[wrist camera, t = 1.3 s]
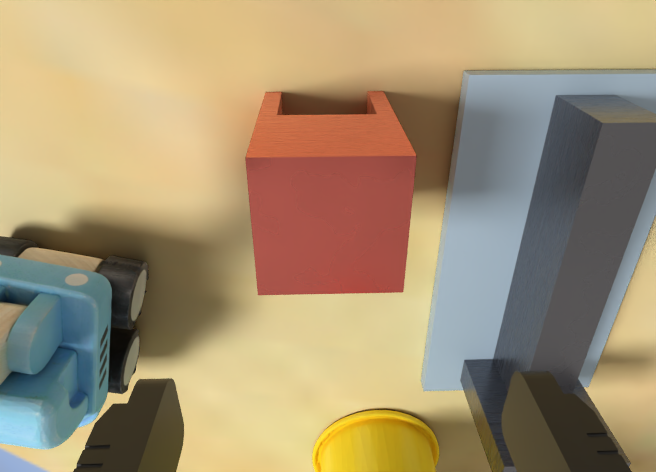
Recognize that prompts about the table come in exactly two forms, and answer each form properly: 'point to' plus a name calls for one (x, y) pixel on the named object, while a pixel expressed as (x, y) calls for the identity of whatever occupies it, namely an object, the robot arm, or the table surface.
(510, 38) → the table surface
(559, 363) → the coupler rail
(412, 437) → the stacking cups
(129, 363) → the toy excavator
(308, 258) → the red slotted block
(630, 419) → the table surface
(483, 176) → the base board
